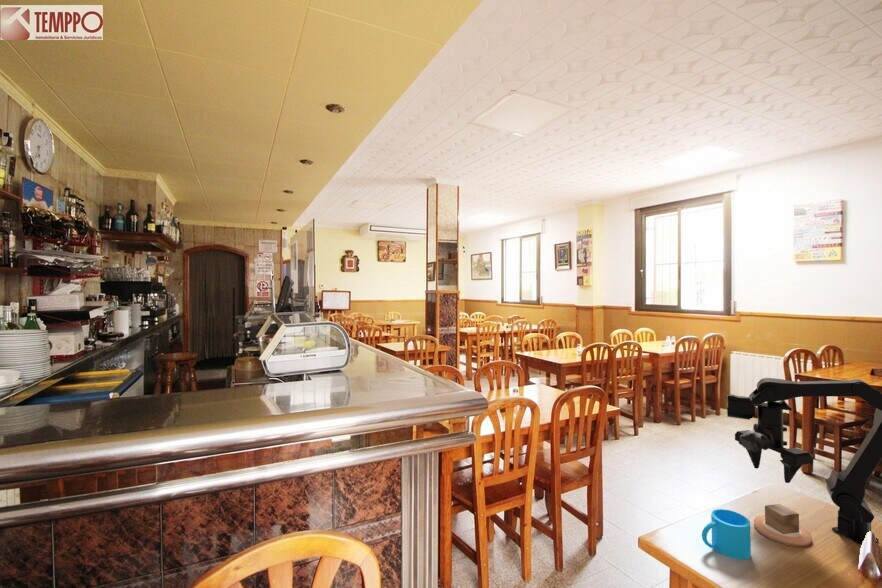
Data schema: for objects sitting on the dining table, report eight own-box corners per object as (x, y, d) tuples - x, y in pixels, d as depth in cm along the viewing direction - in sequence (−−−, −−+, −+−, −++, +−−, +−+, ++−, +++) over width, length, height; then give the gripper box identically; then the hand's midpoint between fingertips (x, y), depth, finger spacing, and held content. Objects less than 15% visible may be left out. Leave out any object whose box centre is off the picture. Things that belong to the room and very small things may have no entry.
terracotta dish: (778, 517, 115) (778, 512, 115) (824, 543, 103) (824, 538, 103) (742, 522, 113) (742, 517, 113) (785, 549, 101) (785, 544, 101)
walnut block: (780, 521, 111) (780, 503, 111) (799, 532, 106) (798, 513, 106) (765, 523, 110) (764, 505, 110) (783, 534, 105) (782, 515, 105)
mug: (732, 537, 106) (731, 507, 106) (759, 557, 98) (758, 525, 98) (691, 541, 105) (690, 511, 105) (715, 562, 97) (714, 530, 97)
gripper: (719, 414, 123) (720, 464, 123) (778, 436, 105) (779, 494, 105) (749, 411, 125) (750, 460, 125) (813, 432, 106) (814, 490, 107)
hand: (771, 475), depth 115 cm, fingers open, 9 cm apart
